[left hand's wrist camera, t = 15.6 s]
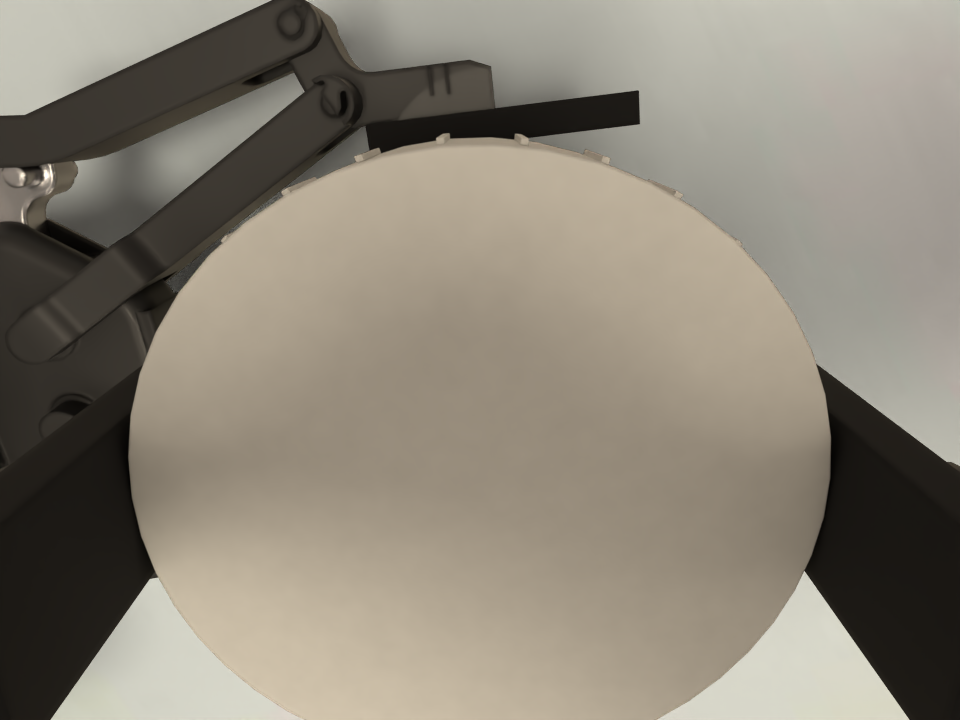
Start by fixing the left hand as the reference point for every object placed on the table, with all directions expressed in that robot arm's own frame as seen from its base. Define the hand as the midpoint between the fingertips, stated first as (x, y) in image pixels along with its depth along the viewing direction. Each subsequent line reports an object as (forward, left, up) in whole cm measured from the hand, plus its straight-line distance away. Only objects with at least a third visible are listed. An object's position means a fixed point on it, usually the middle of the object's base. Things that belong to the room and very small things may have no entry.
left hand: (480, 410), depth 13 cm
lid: (0, 0, +3) cm, 3 cm away
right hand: (-4, -2, -6) cm, 8 cm away
